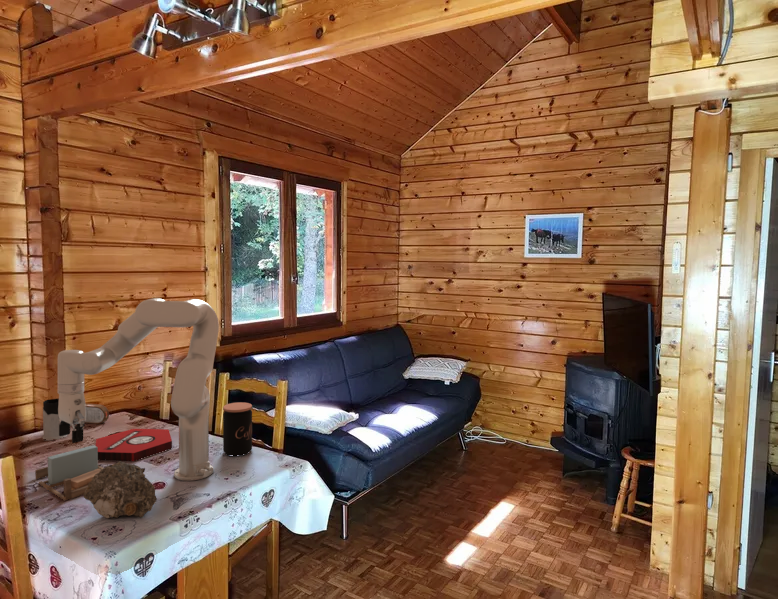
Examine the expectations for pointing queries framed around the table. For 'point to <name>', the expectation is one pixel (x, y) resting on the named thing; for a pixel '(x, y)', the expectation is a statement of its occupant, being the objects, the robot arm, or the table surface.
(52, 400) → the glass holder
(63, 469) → the grey-green rectangular block
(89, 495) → the rock
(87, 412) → the tin
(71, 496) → the rack
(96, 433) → the table surface
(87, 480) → the offcut top
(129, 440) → the red flat hexagonal block
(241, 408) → the coffee jar
